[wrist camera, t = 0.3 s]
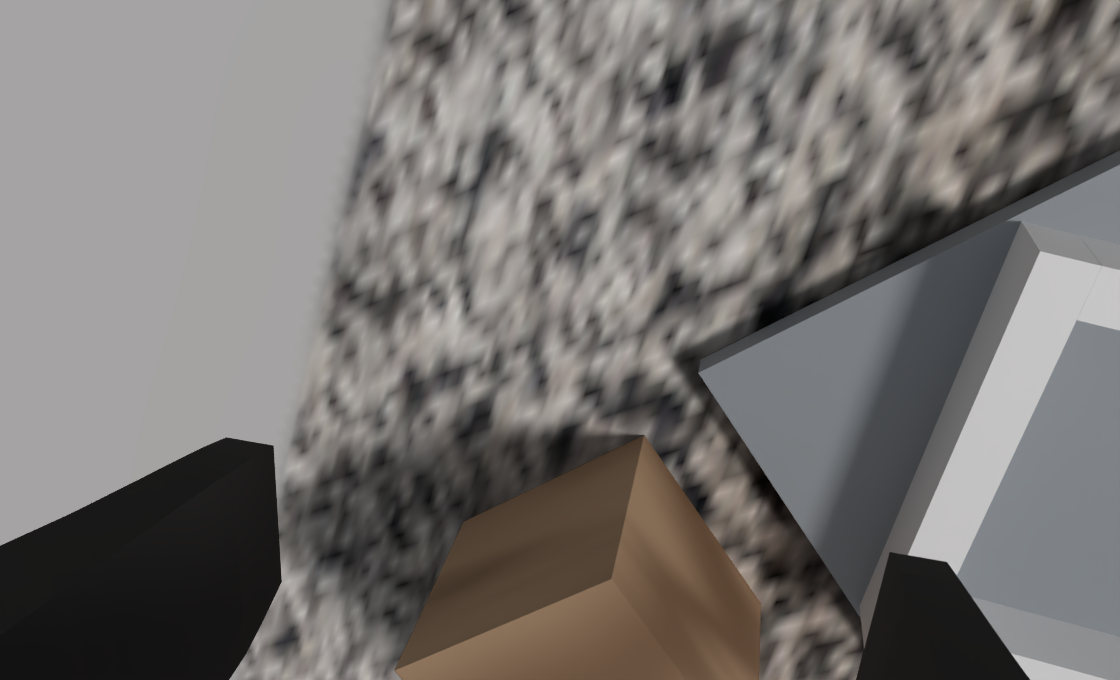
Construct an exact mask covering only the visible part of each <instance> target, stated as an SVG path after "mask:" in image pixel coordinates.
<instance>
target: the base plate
mask: <svg viewBox="0 0 1120 680" xmlns="http://www.w3.org/2000/svg"><path fill="white" fill-rule="evenodd" d="M698 373H699V375H700V376H701V378H702V379H703V381H704V382H705V384H706V385H707V387H708V388H709V390H710V391H711V393H712V394H713V396H714V397H715V399H716V400H717V402H718V403H719V405H720V406H721V408H722V409H723V411H724V412H725V414H726V415H727V417H728V418H729V420H730V421H731V423H732V425H733V426H734V428H735V429H736V431H737V432H738V434H739V435H740V437H741V438H742V440H743V441H744V443H745V444H746V446H747V447H748V449H749V450H750V452H751V453H752V455H753V456H754V458H755V459H756V461H757V462H758V464H759V465H760V467H761V468H762V470H763V471H764V473H765V474H766V476H767V477H768V479H769V480H770V482H771V483H772V485H773V487H774V488H775V490H776V491H777V493H778V494H779V496H780V497H781V499H782V500H783V502H784V503H785V505H786V506H787V508H788V509H789V511H790V512H791V514H792V515H793V517H794V518H795V520H796V521H797V523H798V524H799V526H800V527H801V529H802V530H803V532H804V533H805V535H806V536H807V538H808V539H809V541H810V542H811V544H812V546H813V547H814V549H815V550H816V552H817V553H818V555H819V556H820V558H821V559H822V561H823V562H824V564H825V565H826V567H827V568H828V570H829V571H830V573H831V574H832V576H833V577H834V579H835V580H836V582H837V583H838V585H839V586H840V588H841V589H842V591H843V592H844V594H845V595H846V597H847V598H848V600H849V601H850V603H851V604H852V606H853V608H854V609H855V611H856V612H857V614H858V615H859V617H860V618H861V624H862V634H863V644H864V648H865V644H866V640H867V636H868V632H869V629H870V625H871V621H872V617H873V613H874V610H875V606H876V602H877V598H878V594H879V591H880V587H881V583H882V579H883V575H884V571H885V568H886V564H887V560H888V556H889V552H893V553H898V554H904V555H910V556H916V557H922V558H927V559H933V560H939V561H945V562H947V563H948V564H949V565H950V567H951V568H952V570H953V571H954V572H955V574H956V575H957V577H958V578H959V579H960V581H961V582H962V584H963V585H964V586H965V588H966V589H967V591H968V592H969V594H970V595H971V597H972V598H973V600H974V601H975V602H976V604H977V605H978V607H979V608H980V610H981V611H982V613H983V614H984V616H985V617H986V618H987V620H988V621H989V623H990V624H991V626H992V627H993V629H994V630H995V631H996V633H997V634H998V636H999V637H1000V638H1001V640H1002V641H1003V643H1004V644H1005V646H1006V647H1007V648H1008V650H1009V651H1010V653H1011V654H1012V655H1013V657H1014V658H1015V660H1016V661H1017V662H1018V664H1019V665H1020V666H1021V668H1022V669H1023V671H1024V672H1025V673H1026V675H1027V676H1028V677H1029V679H1030V680H1120V150H1119V151H1117V152H1115V153H1113V154H1111V155H1109V156H1107V157H1105V158H1103V159H1101V160H1099V161H1097V162H1095V163H1093V164H1091V165H1089V166H1087V167H1085V168H1083V169H1081V170H1079V171H1077V172H1075V173H1073V174H1071V175H1069V176H1067V177H1065V178H1063V179H1061V180H1059V181H1057V182H1055V183H1053V184H1051V185H1049V186H1047V187H1045V188H1043V189H1041V190H1039V191H1037V192H1035V193H1033V194H1031V195H1029V196H1027V197H1025V198H1023V199H1021V200H1019V201H1017V202H1015V203H1013V204H1011V205H1009V206H1007V207H1005V208H1003V209H1001V210H999V211H997V212H995V213H993V214H991V215H989V216H987V217H985V218H983V219H981V220H979V221H977V222H975V223H973V224H971V225H969V226H967V227H965V228H963V229H961V230H959V231H957V232H955V233H953V234H951V235H949V236H947V237H945V238H943V239H941V240H939V241H937V242H935V243H933V244H931V245H929V246H927V247H925V248H923V249H921V250H919V251H917V252H915V253H913V254H911V255H909V256H907V257H905V258H903V259H901V260H899V261H897V262H895V263H893V264H891V265H889V266H887V267H885V268H883V269H881V270H879V271H877V272H875V273H873V274H871V275H869V276H867V277H865V278H863V279H861V280H859V281H857V282H855V283H853V284H851V285H849V286H847V287H845V288H843V289H841V290H839V291H837V292H835V293H833V294H831V295H829V296H827V297H825V298H823V299H821V300H819V301H817V302H815V303H813V304H811V305H809V306H807V307H805V308H803V309H801V310H799V311H797V312H795V313H793V314H791V315H789V316H787V317H785V318H783V319H781V320H779V321H777V322H775V323H773V324H771V325H769V326H767V327H765V328H763V329H761V330H759V331H757V332H755V333H753V334H750V335H748V336H746V337H744V338H742V339H740V340H738V341H736V342H734V343H732V344H730V345H728V346H726V347H724V348H722V349H720V350H718V351H716V352H714V353H712V354H710V355H708V356H706V357H704V358H702V359H700V365H699V372H698Z"/></svg>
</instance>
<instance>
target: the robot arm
mask: <svg viewBox="0 0 1120 680" xmlns="http://www.w3.org/2000/svg"><path fill="white" fill-rule="evenodd" d="M281 582H282V580H281V563H280V547H279V530H278V513H277V497H276V480H275V464H274V447H273V446H272V445H267V444H261V443H255V442H249V441H243V440H238V439H232V438H225V439H222V440H219V441H217V442H215V443H212V444H210V445H208V446H206V447H203V448H201V449H199V450H197V451H195V452H193V453H191V454H189V455H187V456H185V457H183V458H181V459H179V460H177V461H175V462H173V463H171V464H169V465H167V466H165V467H163V468H161V469H159V470H157V471H155V472H153V473H151V474H149V475H147V476H145V477H143V478H141V479H139V480H137V481H135V482H133V483H131V484H129V485H127V486H125V487H123V488H121V489H119V490H117V491H115V492H113V493H111V494H109V495H107V496H105V497H103V498H101V499H99V500H97V501H95V502H94V503H91V504H89V505H87V506H86V507H83V508H81V509H79V510H77V511H75V512H73V513H71V514H69V515H67V516H65V517H62V518H60V519H58V520H56V521H54V522H51V523H49V524H47V525H45V526H43V527H41V528H38V529H36V530H34V531H32V532H30V533H27V534H25V535H23V536H21V537H19V538H17V539H14V540H12V541H10V542H8V543H5V544H3V545H1V546H0V680H229V679H230V677H231V676H232V674H233V673H234V671H235V670H236V668H237V667H238V665H239V664H240V662H241V661H242V659H243V658H244V656H245V655H246V653H247V651H248V649H249V647H250V645H251V643H252V641H253V639H254V637H255V635H256V633H257V632H258V630H259V628H260V626H261V624H262V622H263V620H264V618H265V616H266V614H267V611H268V609H269V607H270V605H271V603H272V601H273V599H274V597H275V595H276V593H277V590H278V588H279V586H280V584H281ZM856 680H1030V679H1029V677H1028V676H1027V675H1026V673H1025V672H1024V671H1023V669H1022V668H1021V666H1020V665H1019V664H1018V662H1017V661H1016V660H1015V658H1014V657H1013V655H1012V654H1011V653H1010V651H1009V650H1008V648H1007V647H1006V646H1005V644H1004V643H1003V641H1002V640H1001V638H1000V637H999V636H998V634H997V633H996V631H995V630H994V629H993V627H992V626H991V624H990V623H989V621H988V620H987V618H986V617H985V616H984V614H983V613H982V611H981V610H980V608H979V607H978V605H977V604H976V602H975V601H974V600H973V598H972V597H971V595H970V594H969V592H968V591H967V589H966V588H965V586H964V585H963V584H962V582H961V581H960V579H959V578H958V577H957V575H956V574H955V572H954V571H953V570H952V568H951V567H950V565H949V564H948V563H947V562H945V561H939V560H933V559H927V558H922V557H916V556H910V555H904V554H898V553H893V552H889V556H888V560H887V564H886V568H885V571H884V575H883V579H882V583H881V587H880V591H879V594H878V598H877V602H876V606H875V610H874V613H873V617H872V621H871V625H870V629H869V632H868V636H867V640H866V644H865V648H864V652H863V655H862V659H861V663H860V667H859V671H858V674H857V678H856Z"/></svg>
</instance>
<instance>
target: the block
mask: <svg viewBox="0 0 1120 680" xmlns="http://www.w3.org/2000/svg"><path fill="white" fill-rule="evenodd" d="M760 616H761V603H760V601H759V600H758V599H757V597H756V596H755V594H754V593H753V591H752V590H751V589H750V587H749V586H748V584H747V583H746V581H745V580H744V578H743V577H742V576H741V574H740V573H739V571H738V570H737V568H736V567H735V565H734V564H733V563H732V561H731V560H730V558H729V557H728V555H727V554H726V552H725V551H724V550H723V548H722V547H721V545H720V544H719V542H718V541H717V539H716V538H715V537H714V535H713V534H712V532H711V531H710V529H709V528H708V526H707V525H706V524H705V522H704V521H703V519H702V518H701V516H700V515H699V513H698V512H697V511H696V509H695V508H694V506H693V505H692V503H691V502H690V500H689V499H688V498H687V496H686V495H685V493H684V492H683V490H682V489H681V487H680V486H679V485H678V483H677V482H676V480H675V479H674V477H673V476H672V475H671V473H670V472H669V470H668V469H667V467H666V466H665V464H664V463H663V462H662V460H661V459H660V457H659V456H658V454H657V453H656V451H655V450H654V449H653V447H652V446H651V444H650V443H649V441H648V440H647V438H646V437H645V436H644V435H643V436H641V437H639V438H637V439H635V440H633V441H631V442H629V443H627V444H625V445H623V446H620V447H618V448H616V449H614V450H612V451H610V452H608V453H606V454H604V455H602V456H600V457H598V458H595V459H593V460H591V461H589V462H587V463H585V464H583V465H581V466H579V467H577V468H575V469H572V470H570V471H568V472H566V473H564V474H562V475H560V476H558V477H556V478H554V479H552V480H549V481H547V482H545V483H543V484H541V485H539V486H537V487H535V488H533V489H531V490H529V491H526V492H524V493H522V494H520V495H518V496H516V497H514V498H512V499H510V500H508V501H506V502H503V503H501V504H499V505H497V506H495V507H493V508H491V509H489V510H487V511H485V512H483V513H481V514H478V515H476V516H474V517H472V518H470V519H468V520H466V521H464V522H463V524H462V526H461V528H460V531H459V533H458V535H457V537H456V539H455V541H454V544H453V546H452V548H451V550H450V552H449V554H448V556H447V559H446V561H445V563H444V565H443V567H442V569H441V572H440V574H439V576H438V578H437V580H436V582H435V584H434V587H433V589H432V591H431V593H430V595H429V597H428V600H427V602H426V604H425V606H424V608H423V610H422V612H421V615H420V617H419V619H418V621H417V623H416V625H415V627H414V630H413V632H412V634H411V636H410V638H409V640H408V643H407V645H406V647H405V649H404V651H403V653H402V655H401V658H400V660H399V662H398V664H397V666H396V668H395V672H396V673H397V674H398V676H399V677H400V678H401V679H402V680H759V654H760Z"/></svg>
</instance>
